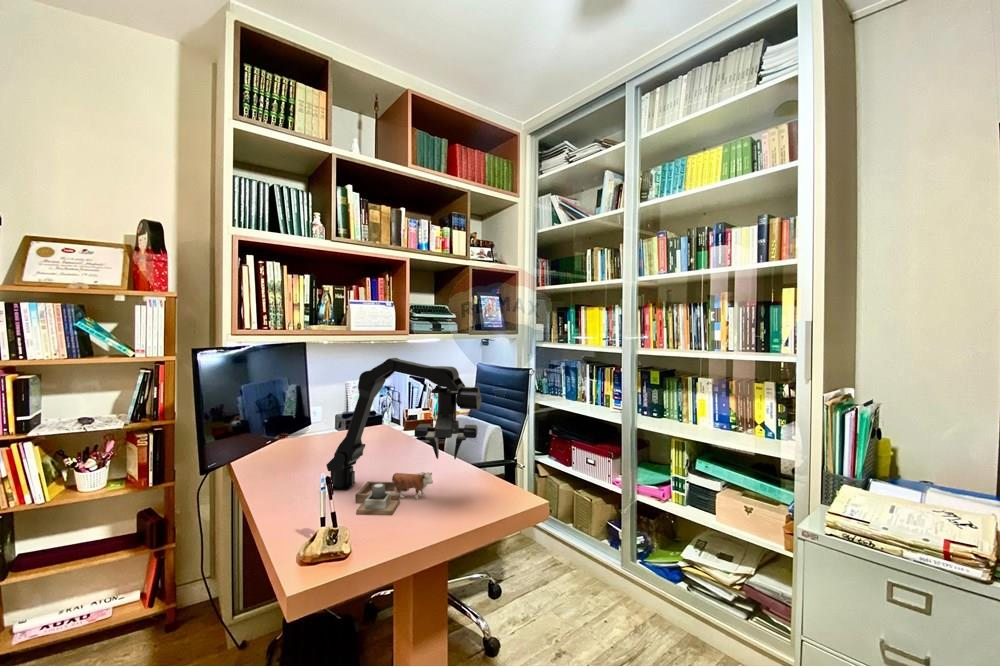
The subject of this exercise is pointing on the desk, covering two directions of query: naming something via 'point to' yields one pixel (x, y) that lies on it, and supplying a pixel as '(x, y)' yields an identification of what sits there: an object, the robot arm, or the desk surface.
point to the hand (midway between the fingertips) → (446, 458)
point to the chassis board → (377, 500)
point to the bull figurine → (411, 482)
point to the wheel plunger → (378, 491)
